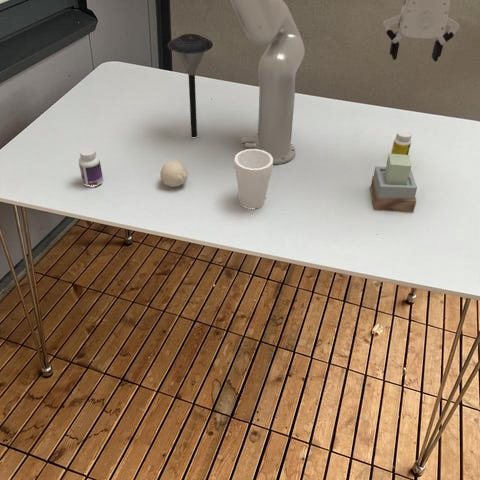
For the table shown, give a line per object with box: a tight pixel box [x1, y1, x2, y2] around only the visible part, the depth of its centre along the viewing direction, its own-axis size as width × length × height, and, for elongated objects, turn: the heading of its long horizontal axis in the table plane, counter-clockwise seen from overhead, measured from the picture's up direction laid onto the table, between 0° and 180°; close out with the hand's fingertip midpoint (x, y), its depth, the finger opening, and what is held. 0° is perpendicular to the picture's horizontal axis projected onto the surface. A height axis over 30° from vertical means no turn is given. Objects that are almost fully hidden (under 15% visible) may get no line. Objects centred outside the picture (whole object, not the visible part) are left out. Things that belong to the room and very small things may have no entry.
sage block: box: [385, 153, 412, 185], centre depth 144 cm, size 5×5×6 cm
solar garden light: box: [167, 33, 214, 138], centre depth 162 cm, size 12×12×30 cm
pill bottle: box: [78, 146, 104, 186], centre depth 150 cm, size 5×5×10 cm
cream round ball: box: [160, 160, 189, 188], centre depth 151 cm, size 7×7×7 cm
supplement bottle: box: [390, 129, 413, 155], centre depth 162 cm, size 5×5×8 cm
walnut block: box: [370, 176, 417, 213], centre depth 149 cm, size 10×10×4 cm
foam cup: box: [233, 148, 274, 210], centre depth 144 cm, size 10×9×13 cm
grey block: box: [372, 165, 418, 199], centre depth 146 cm, size 9×9×4 cm
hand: (413, 58), depth 137 cm, fingers open, 9 cm apart
